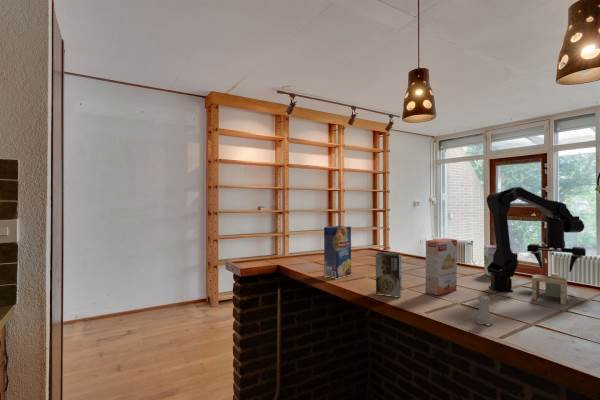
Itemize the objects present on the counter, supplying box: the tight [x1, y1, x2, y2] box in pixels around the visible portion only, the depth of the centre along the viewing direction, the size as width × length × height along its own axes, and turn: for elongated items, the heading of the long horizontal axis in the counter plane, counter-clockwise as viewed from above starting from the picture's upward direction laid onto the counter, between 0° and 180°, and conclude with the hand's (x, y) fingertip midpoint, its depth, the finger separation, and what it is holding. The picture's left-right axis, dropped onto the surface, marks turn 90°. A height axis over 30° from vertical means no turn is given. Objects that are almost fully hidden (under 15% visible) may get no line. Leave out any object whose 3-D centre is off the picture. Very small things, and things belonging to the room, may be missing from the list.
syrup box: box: [483, 244, 496, 278], centre depth 155 cm, size 6×6×14 cm
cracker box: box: [425, 238, 458, 296], centre depth 128 cm, size 14×6×21 cm, turn 126°
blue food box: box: [323, 225, 352, 278], centre depth 156 cm, size 12×8×24 cm, turn 137°
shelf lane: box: [531, 274, 568, 305], centre depth 118 cm, size 9×9×8 cm
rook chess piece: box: [475, 294, 494, 325], centre depth 95 cm, size 4×4×8 cm
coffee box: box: [375, 251, 403, 298], centre depth 125 cm, size 9×6×16 cm
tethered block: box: [545, 273, 561, 299], centre depth 127 cm, size 16×5×6 cm, turn 140°
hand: (555, 270), depth 133 cm, fingers open, 9 cm apart
